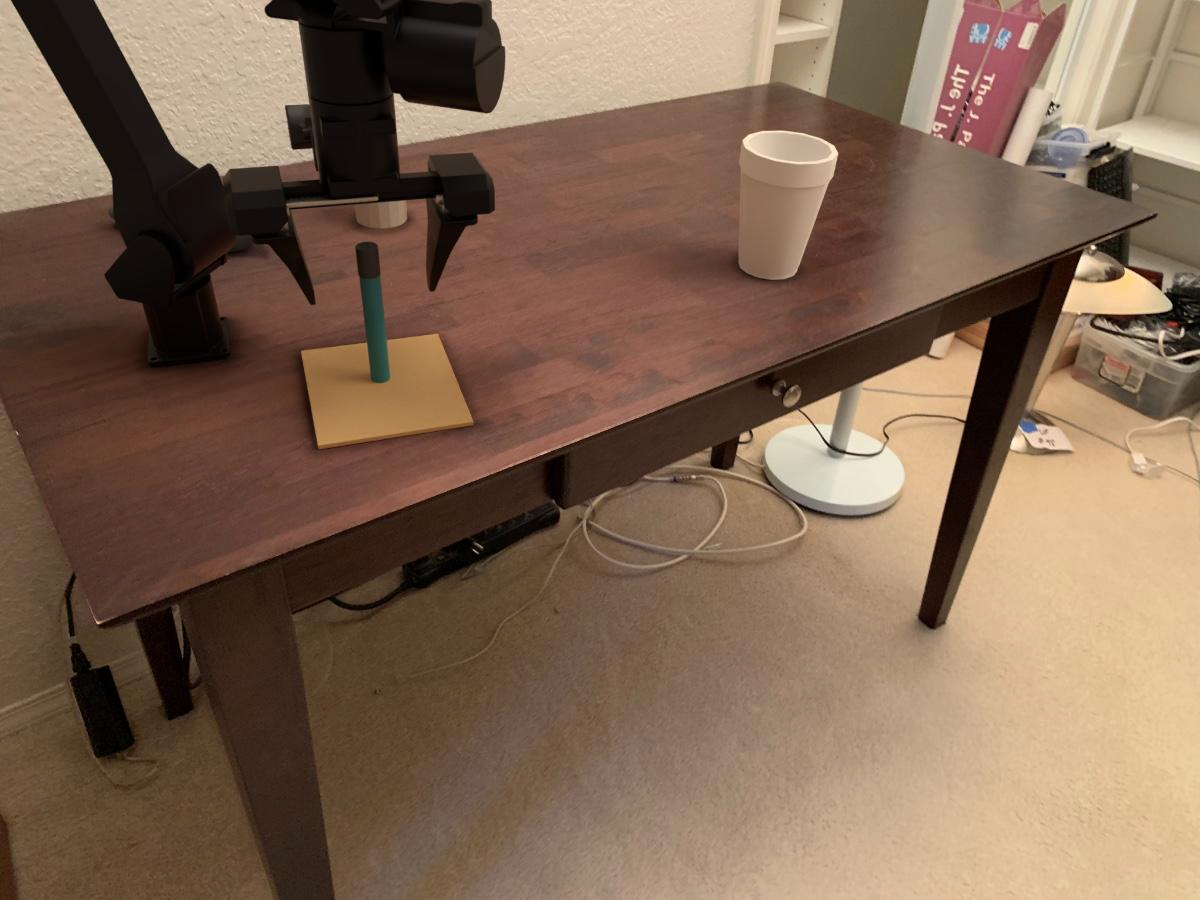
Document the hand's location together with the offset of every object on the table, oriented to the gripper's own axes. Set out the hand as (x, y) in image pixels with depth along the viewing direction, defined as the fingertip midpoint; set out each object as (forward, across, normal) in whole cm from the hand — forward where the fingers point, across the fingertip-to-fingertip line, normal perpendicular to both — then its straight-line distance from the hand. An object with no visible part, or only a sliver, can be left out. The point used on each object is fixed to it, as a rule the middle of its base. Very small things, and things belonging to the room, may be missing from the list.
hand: (373, 295), depth 72 cm
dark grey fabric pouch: (+8, +15, -31) cm, 35 cm away
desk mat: (+8, 0, +1) cm, 8 cm away
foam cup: (+8, -43, -12) cm, 45 cm away
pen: (+8, 0, 0) cm, 8 cm away
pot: (+8, -5, -32) cm, 33 cm away
